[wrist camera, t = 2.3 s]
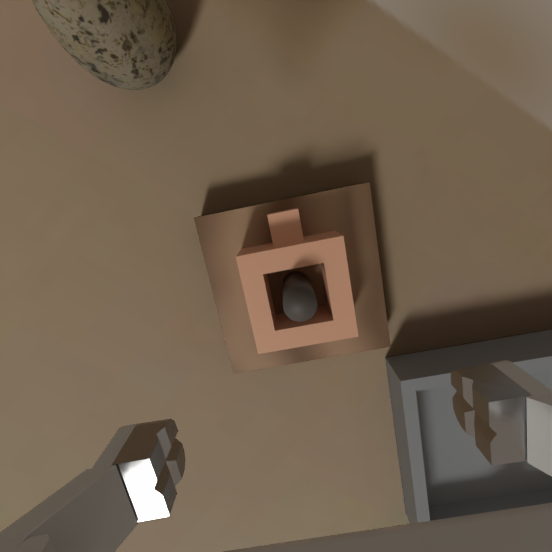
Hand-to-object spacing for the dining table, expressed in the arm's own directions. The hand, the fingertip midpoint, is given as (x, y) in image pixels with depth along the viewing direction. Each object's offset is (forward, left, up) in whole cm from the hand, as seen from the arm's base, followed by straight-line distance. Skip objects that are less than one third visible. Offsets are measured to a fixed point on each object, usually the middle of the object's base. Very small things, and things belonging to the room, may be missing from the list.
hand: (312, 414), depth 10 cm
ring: (0, 0, -14) cm, 14 cm away
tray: (-14, +16, -16) cm, 27 cm away
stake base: (0, 0, -16) cm, 16 cm away
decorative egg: (+7, -17, -17) cm, 25 cm away
